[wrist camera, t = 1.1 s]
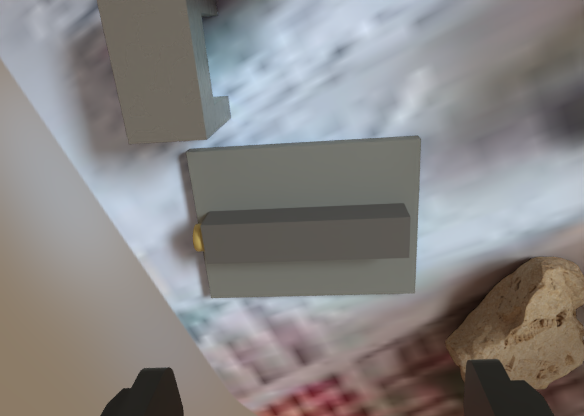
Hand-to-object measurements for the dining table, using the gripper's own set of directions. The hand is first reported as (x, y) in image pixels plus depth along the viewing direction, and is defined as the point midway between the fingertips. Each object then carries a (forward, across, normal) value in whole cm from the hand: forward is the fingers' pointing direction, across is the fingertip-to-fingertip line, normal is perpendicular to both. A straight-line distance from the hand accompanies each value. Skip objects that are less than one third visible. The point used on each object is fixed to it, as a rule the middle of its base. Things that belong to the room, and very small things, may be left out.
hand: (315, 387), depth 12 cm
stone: (+21, -14, +14) cm, 28 cm away
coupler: (+20, +2, +4) cm, 21 cm away
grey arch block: (+20, +8, -8) cm, 23 cm away
